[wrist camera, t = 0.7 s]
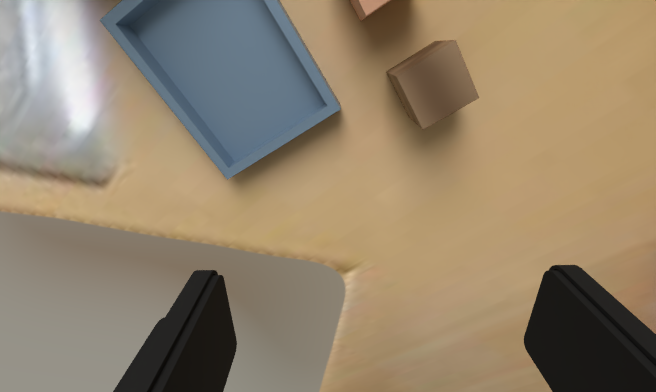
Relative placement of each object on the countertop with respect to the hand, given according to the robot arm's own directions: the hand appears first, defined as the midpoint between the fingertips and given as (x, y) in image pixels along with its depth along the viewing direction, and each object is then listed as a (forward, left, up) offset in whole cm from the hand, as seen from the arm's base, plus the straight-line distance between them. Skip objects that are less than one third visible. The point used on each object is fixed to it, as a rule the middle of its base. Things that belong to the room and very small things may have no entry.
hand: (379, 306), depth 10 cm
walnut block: (-8, 0, -22) cm, 24 cm away
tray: (+5, -10, -22) cm, 25 cm away
